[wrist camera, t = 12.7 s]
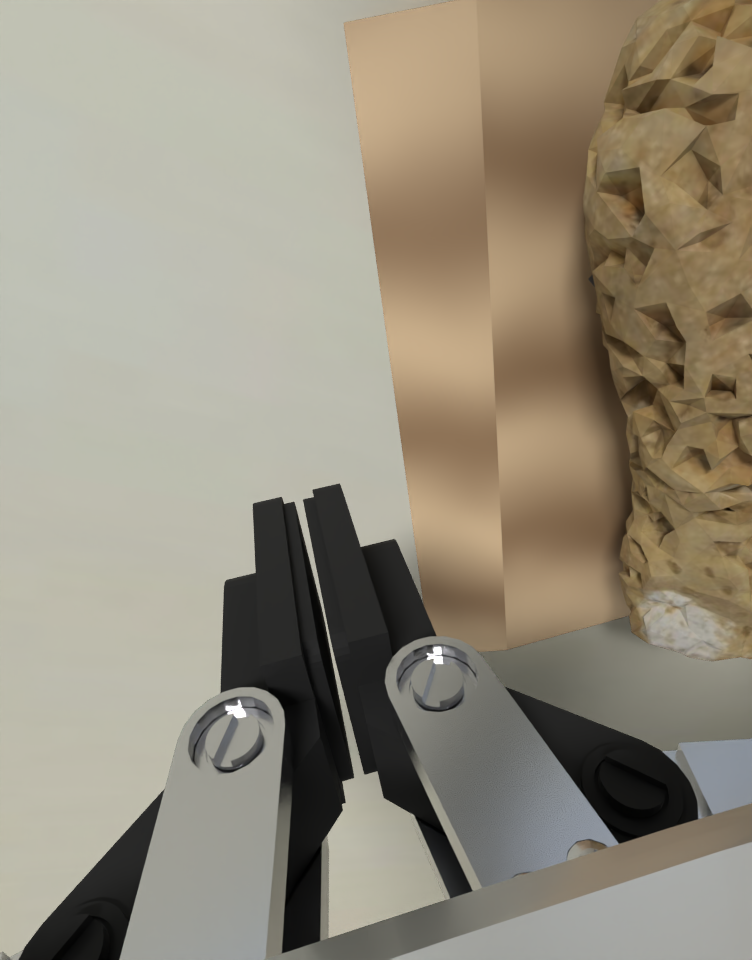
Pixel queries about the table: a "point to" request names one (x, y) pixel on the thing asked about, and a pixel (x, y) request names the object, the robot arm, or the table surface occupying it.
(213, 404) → the table surface
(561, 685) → the table surface
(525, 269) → the board
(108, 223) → the table surface
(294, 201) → the table surface
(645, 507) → the sponge
